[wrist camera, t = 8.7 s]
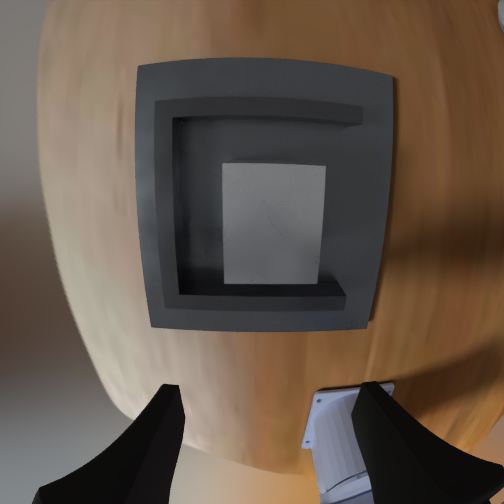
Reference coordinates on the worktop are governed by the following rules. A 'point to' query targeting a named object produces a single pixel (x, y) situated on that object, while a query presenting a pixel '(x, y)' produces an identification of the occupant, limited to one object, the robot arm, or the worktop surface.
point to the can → (501, 13)
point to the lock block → (272, 221)
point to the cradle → (259, 148)
